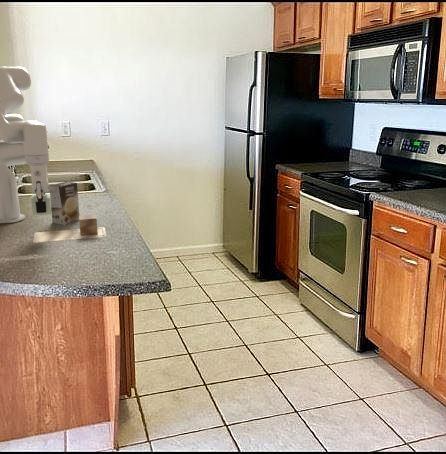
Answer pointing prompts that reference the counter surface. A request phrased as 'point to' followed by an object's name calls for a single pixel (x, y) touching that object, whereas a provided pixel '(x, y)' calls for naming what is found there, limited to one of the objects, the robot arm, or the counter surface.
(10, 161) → the robot arm
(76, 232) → the board
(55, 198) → the coffee box
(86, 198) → the counter surface
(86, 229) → the walnut block
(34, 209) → the sage block
